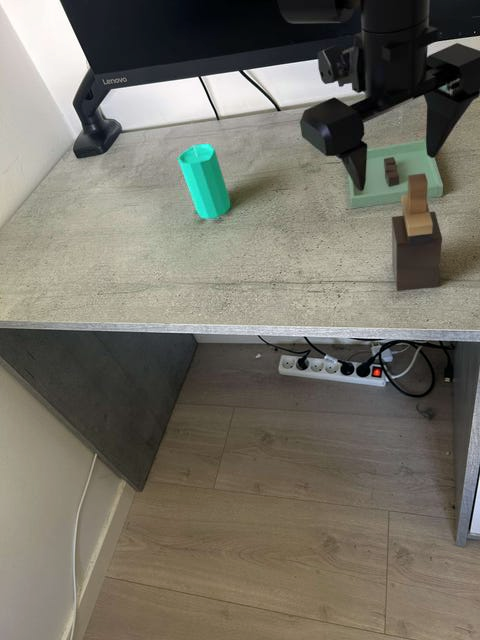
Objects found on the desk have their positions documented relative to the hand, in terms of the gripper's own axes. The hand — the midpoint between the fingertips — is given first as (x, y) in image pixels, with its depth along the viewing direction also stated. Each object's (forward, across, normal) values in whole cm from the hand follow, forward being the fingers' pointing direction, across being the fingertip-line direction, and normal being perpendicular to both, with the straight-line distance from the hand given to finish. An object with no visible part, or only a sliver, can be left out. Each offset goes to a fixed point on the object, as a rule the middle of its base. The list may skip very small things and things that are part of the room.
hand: (395, 172), depth 55 cm
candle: (+15, +16, -30) cm, 37 cm away
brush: (+6, -1, +3) cm, 7 cm away
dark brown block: (+14, -1, +3) cm, 15 cm away
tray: (+14, -11, -18) cm, 25 cm away
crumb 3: (+14, -10, -16) cm, 23 cm away
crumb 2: (+14, -11, -18) cm, 25 cm away
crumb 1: (+14, -12, -19) cm, 27 cm away
